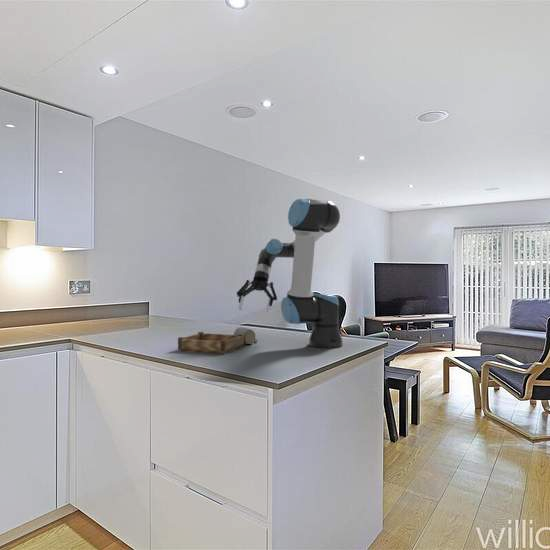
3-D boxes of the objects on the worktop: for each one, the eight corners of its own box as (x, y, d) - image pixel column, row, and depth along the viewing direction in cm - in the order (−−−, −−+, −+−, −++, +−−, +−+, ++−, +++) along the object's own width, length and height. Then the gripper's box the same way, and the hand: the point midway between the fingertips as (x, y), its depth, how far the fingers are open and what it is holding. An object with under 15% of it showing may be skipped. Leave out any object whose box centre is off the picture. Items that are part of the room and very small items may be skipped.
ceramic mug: (244, 346, 179) (244, 329, 179) (233, 343, 185) (233, 327, 185) (261, 343, 186) (262, 327, 186) (250, 341, 192) (250, 325, 192)
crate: (243, 346, 177) (243, 334, 177) (224, 354, 160) (224, 340, 160) (200, 343, 185) (200, 331, 185) (178, 350, 168) (178, 337, 168)
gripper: (286, 281, 204) (279, 316, 192) (239, 277, 209) (230, 311, 196) (285, 272, 198) (278, 308, 186) (237, 268, 203) (227, 302, 190)
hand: (253, 309), depth 191 cm, fingers open, 13 cm apart
